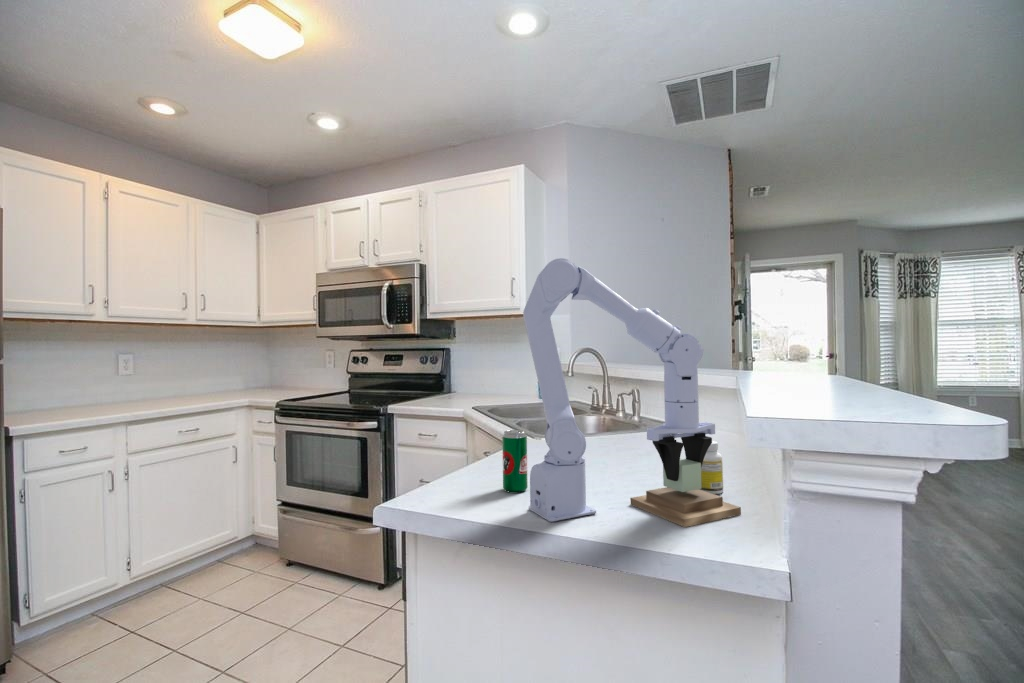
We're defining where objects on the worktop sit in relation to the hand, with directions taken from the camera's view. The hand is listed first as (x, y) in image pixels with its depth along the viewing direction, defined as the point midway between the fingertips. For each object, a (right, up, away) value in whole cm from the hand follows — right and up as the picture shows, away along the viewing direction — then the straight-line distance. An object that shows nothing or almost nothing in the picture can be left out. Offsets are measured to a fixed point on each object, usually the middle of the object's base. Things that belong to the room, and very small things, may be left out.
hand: (683, 477), depth 83 cm
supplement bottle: (+9, -6, +11) cm, 15 cm away
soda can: (-30, -7, +13) cm, 33 cm away
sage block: (0, -2, 0) cm, 2 cm away
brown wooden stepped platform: (0, -6, 0) cm, 6 cm away
